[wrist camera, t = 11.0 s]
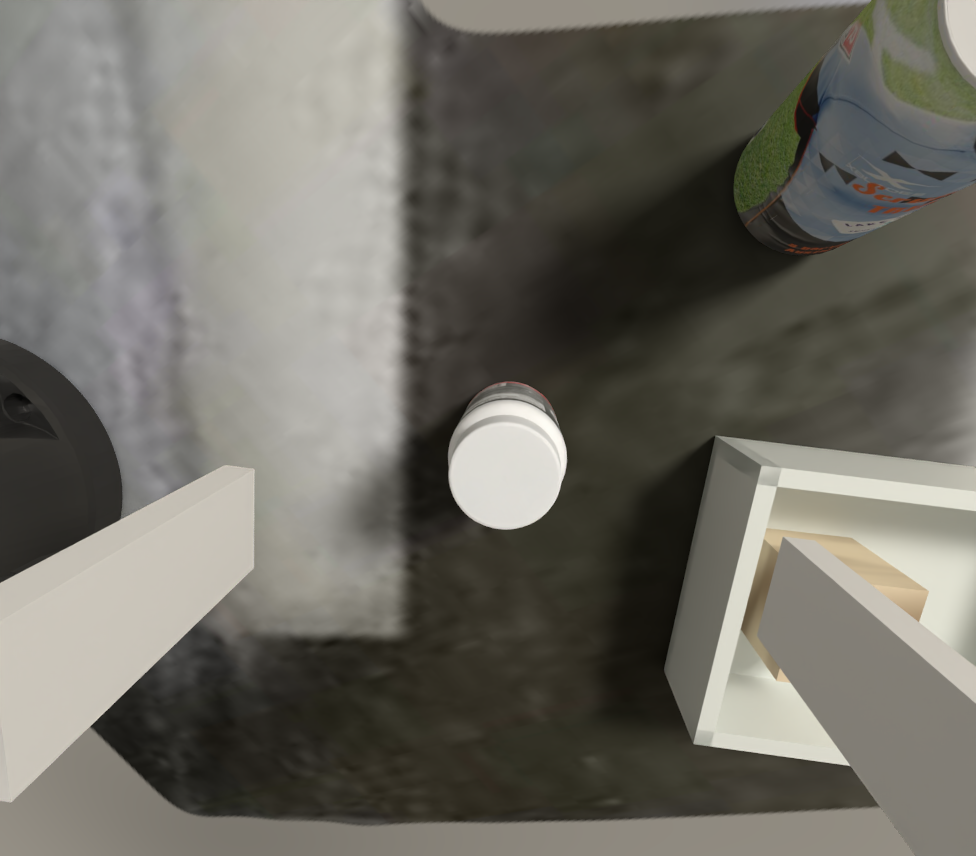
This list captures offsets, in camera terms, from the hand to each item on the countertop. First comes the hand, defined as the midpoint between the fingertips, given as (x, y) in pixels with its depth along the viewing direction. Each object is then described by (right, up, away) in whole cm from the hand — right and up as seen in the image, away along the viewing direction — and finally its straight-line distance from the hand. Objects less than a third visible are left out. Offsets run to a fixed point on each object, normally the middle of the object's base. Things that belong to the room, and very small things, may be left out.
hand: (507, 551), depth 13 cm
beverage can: (+13, +14, +10) cm, 22 cm away
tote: (+19, -5, +14) cm, 24 cm away
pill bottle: (+1, +3, +13) cm, 14 cm away
